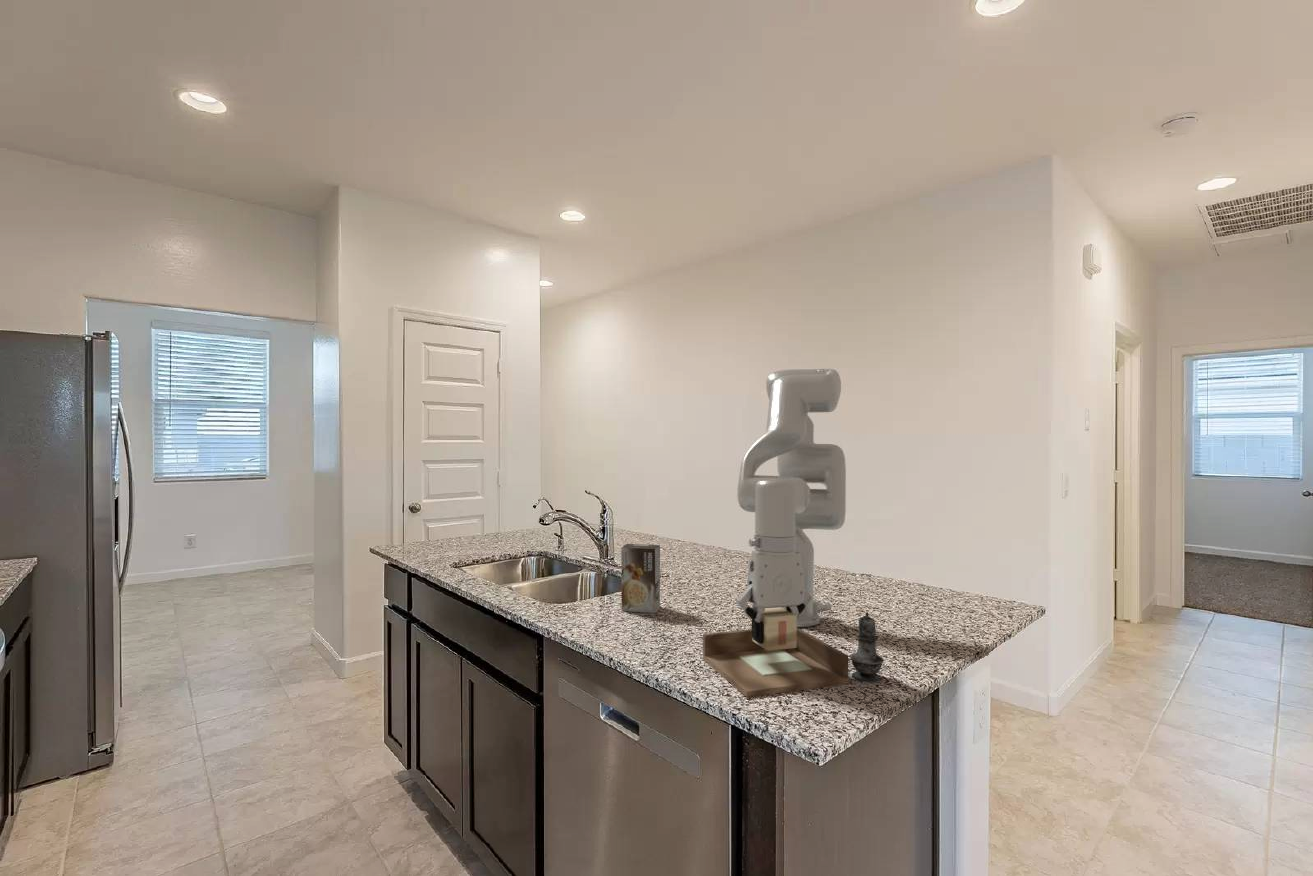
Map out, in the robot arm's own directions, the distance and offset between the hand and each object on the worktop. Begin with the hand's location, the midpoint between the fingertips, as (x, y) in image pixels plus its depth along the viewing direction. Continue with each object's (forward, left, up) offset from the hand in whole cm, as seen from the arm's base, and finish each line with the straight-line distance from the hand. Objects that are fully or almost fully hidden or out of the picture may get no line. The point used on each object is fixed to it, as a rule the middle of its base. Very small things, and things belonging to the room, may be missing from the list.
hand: (774, 639), depth 119 cm
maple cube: (0, 0, -1) cm, 1 cm away
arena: (+1, +1, -6) cm, 6 cm away
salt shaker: (-14, +9, -6) cm, 18 cm away
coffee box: (+12, -47, -6) cm, 49 cm away
